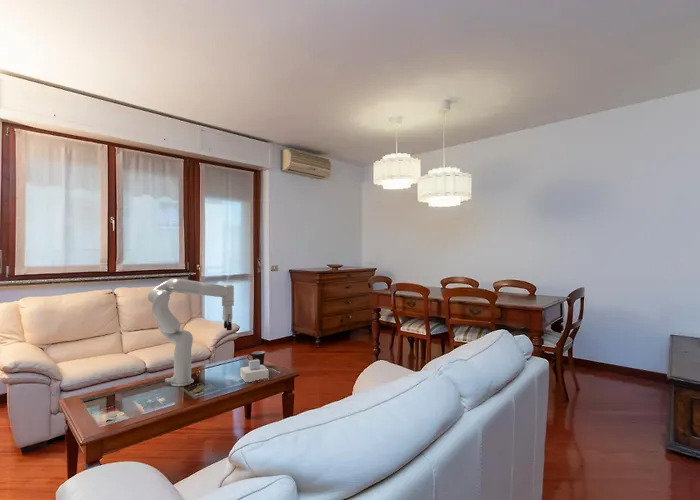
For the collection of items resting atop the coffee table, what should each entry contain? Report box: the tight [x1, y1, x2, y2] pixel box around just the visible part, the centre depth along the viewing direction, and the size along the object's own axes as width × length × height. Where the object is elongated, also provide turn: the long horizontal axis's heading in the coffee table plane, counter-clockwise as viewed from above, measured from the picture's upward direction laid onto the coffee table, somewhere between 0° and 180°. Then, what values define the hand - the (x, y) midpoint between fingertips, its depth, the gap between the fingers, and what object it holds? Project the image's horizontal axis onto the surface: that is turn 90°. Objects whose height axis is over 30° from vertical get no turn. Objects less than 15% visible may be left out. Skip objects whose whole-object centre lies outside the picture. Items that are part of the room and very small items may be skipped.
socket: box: [239, 364, 269, 383], centre depth 226 cm, size 14×14×6 cm
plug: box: [248, 359, 260, 370], centre depth 226 cm, size 6×4×10 cm, turn 118°
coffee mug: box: [246, 350, 266, 365], centre depth 252 cm, size 12×9×10 cm
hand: (227, 329), depth 242 cm, fingers open, 9 cm apart
